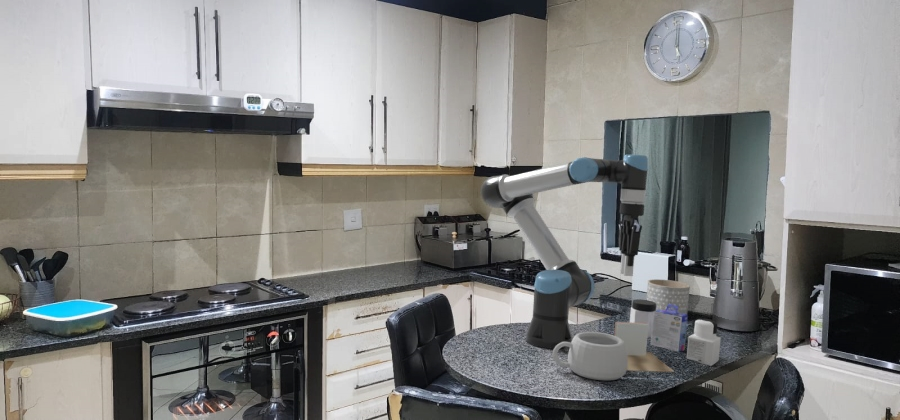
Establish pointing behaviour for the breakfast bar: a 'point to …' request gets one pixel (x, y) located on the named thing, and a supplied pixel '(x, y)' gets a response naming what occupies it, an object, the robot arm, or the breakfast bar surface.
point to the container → (704, 342)
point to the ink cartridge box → (669, 329)
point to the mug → (595, 356)
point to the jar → (643, 313)
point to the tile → (633, 336)
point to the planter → (668, 294)
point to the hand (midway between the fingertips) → (626, 274)
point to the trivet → (646, 363)
